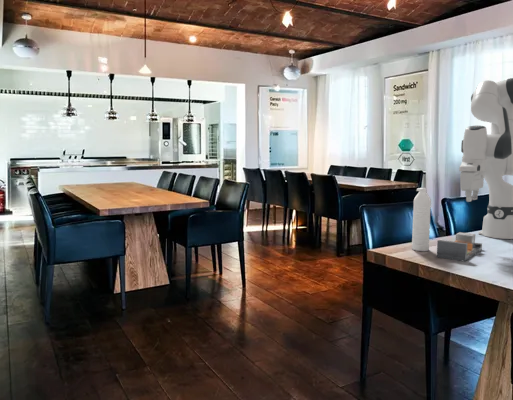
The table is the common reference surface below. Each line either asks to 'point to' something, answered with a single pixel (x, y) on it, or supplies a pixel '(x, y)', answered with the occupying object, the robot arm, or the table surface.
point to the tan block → (465, 238)
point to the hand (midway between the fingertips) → (471, 200)
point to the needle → (469, 246)
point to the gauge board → (456, 250)
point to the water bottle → (421, 221)
